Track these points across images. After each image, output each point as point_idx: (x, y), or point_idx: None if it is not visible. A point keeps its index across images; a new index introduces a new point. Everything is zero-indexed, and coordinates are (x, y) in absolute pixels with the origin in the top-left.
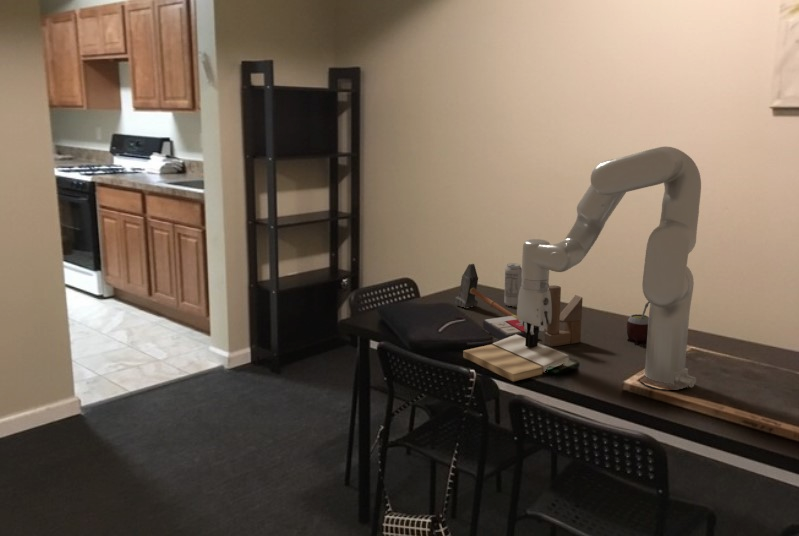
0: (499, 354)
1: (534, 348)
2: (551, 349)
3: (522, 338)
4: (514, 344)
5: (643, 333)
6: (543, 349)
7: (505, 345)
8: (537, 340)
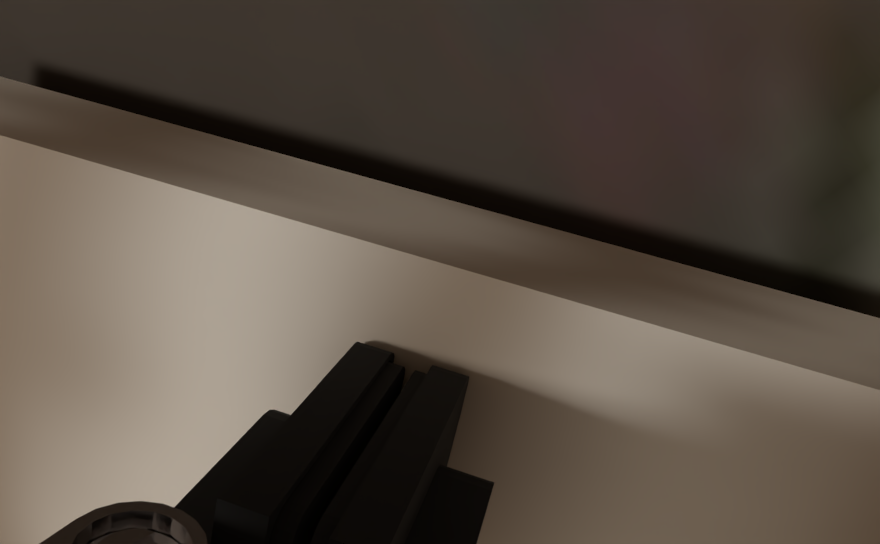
0: None
1: (496, 488)
2: (875, 429)
3: (2, 185)
4: (109, 451)
5: None
6: (691, 477)
7: (45, 515)
8: (441, 440)
